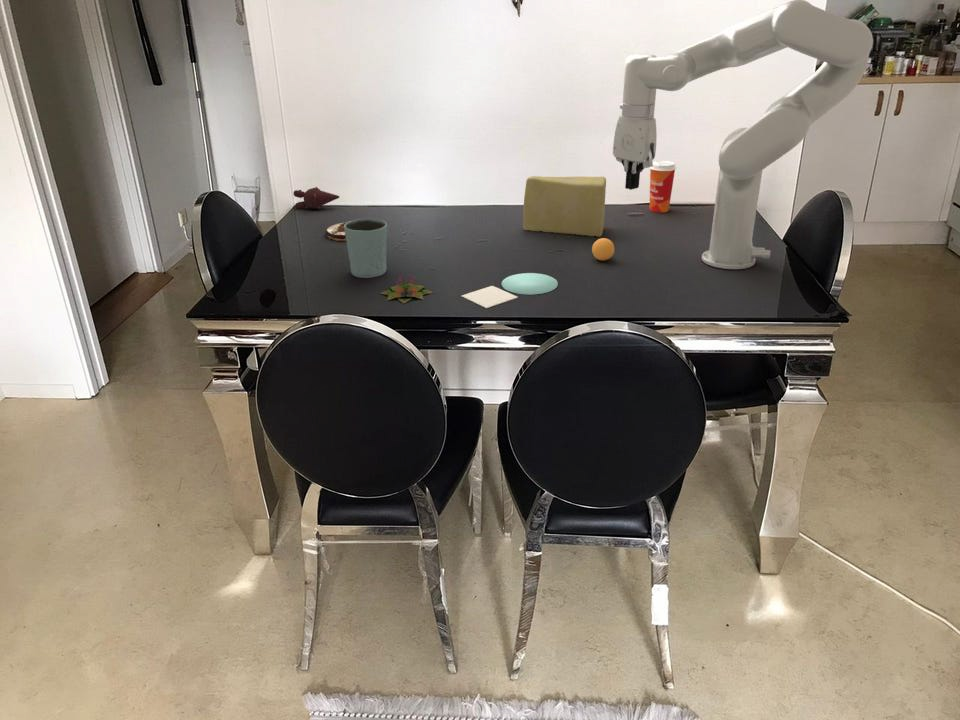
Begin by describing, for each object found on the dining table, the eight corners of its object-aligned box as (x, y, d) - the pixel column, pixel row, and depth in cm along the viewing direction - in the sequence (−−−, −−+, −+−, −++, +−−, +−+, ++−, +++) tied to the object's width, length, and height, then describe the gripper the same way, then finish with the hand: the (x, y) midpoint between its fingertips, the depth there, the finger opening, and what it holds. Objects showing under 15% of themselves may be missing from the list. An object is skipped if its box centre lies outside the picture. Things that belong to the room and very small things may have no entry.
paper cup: (641, 208, 226) (644, 161, 219) (663, 205, 228) (668, 159, 221) (654, 215, 219) (658, 167, 213) (677, 212, 221) (682, 164, 215)
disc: (562, 276, 177) (562, 275, 177) (551, 296, 166) (551, 296, 166) (509, 271, 180) (509, 271, 180) (495, 291, 169) (495, 290, 169)
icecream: (342, 185, 234) (297, 188, 237) (333, 185, 227) (287, 188, 230) (344, 207, 235) (300, 210, 238) (336, 208, 228) (290, 211, 231)
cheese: (520, 235, 206) (520, 181, 199) (526, 224, 214) (526, 172, 207) (601, 238, 202) (604, 183, 195) (603, 227, 210) (606, 174, 203)
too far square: (492, 286, 172) (492, 285, 172) (517, 297, 166) (517, 296, 166) (461, 296, 167) (461, 295, 167) (486, 308, 161) (486, 307, 161)
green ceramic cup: (345, 267, 186) (340, 221, 180) (384, 262, 189) (380, 215, 183) (354, 281, 177) (348, 232, 172) (395, 275, 180) (391, 227, 175)
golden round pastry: (344, 248, 201) (342, 233, 199) (312, 237, 210) (310, 223, 208) (386, 235, 210) (385, 220, 208) (354, 225, 219) (352, 211, 217)
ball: (615, 257, 188) (616, 236, 185) (612, 264, 183) (613, 243, 181) (593, 255, 189) (594, 234, 187) (589, 262, 185) (590, 241, 182)
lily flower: (369, 296, 170) (367, 277, 168) (410, 281, 178) (408, 263, 176) (402, 310, 163) (401, 291, 161) (443, 294, 170) (442, 276, 168)
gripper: (603, 109, 179) (599, 185, 187) (652, 116, 168) (645, 197, 177) (624, 105, 183) (619, 180, 191) (673, 113, 172) (665, 191, 181)
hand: (631, 188), depth 184 cm, fingers closed
